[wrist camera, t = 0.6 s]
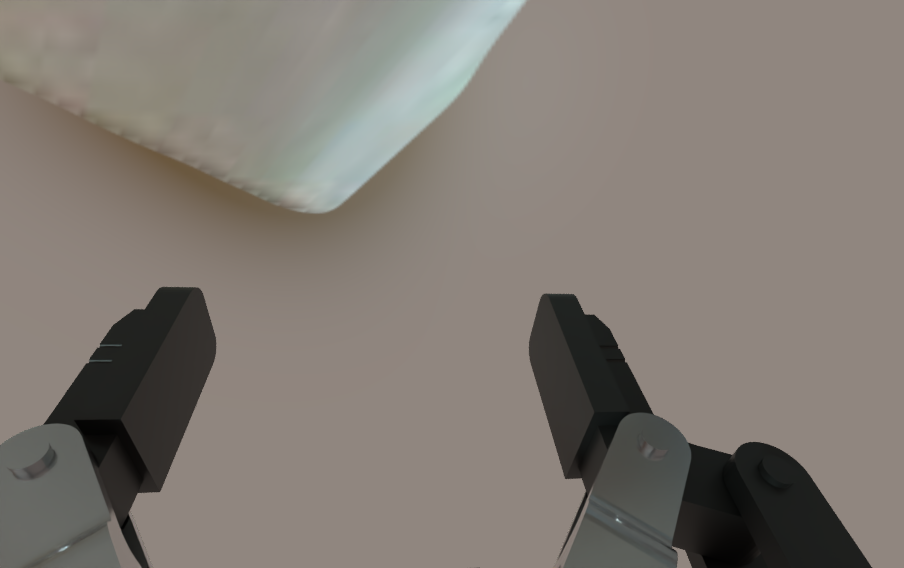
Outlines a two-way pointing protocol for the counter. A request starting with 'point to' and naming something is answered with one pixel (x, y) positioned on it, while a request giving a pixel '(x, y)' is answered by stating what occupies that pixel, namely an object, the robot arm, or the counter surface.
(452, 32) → the counter surface
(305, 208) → the counter surface
